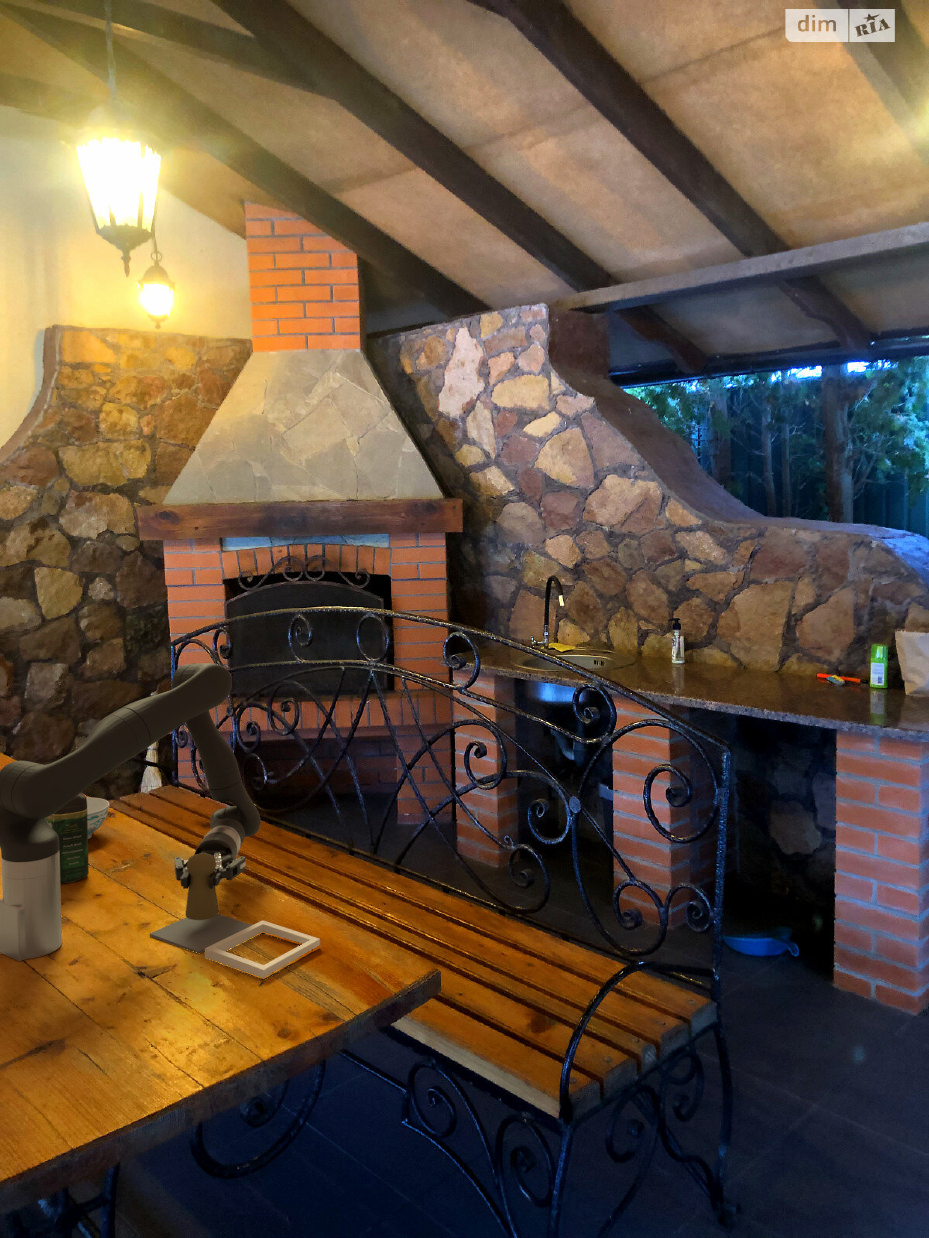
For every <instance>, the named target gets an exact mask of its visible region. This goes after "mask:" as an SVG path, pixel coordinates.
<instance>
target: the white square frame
mask: <svg viewBox="0 0 929 1238" xmlns="http://www.w3.org/2000/svg"><path fill="white" fill-rule="evenodd" d="M251 925H252V926H250V927H248V928H246V929H244V930H242V931H240V932H238V933H236V934H234V935H231V936H229V937H227V938H225V939H223V940H221V941H219V942H217V943H215V944H213V945H211V946H209V947H207V948H205V952H204V959H205V958H208V959H210V960H213V961H217V962H219V963H222V964H223V965H222V966H224V965H228V966H230V967H232V968H236V969H239V970H241V971H243V972H248V973H250V974H253V975H256V976H259V977H261V978H265V977H266V976H268V975H270V974H271V973H272V972H274V971H276V970H278V969H279V968H281V967H283V966H284V965H287V964H288V963H289V962H291V961H293V960H295V959H297V958H299V957H300V956H301V955H304V954H305V953H307V952H308V951H311V950H312V949H314V948H316V947H317V946H319V945H320V946H321V938H319V937H315V936H313V935H309V934H306V933H303V932H300V931H296V930H294V929H291V928H287V927H284V926H282V925H278V924H275V923H272V922H268V921H266V920H260V921H259V922H257V923H255V924H251ZM261 932H265V933H268V934H273V935H277V936H279V937H281V938H286V939H289V940H292V941H296V942H299V943H302V945H300V946H299V945H297V946H296V947H295V948H293V949H291V950H289V951H286V952H285V953H283V954H281V955H279V956H278V957H276V958H274V959H273V960H270V961H269V962H267V963H266V964H261V963H259V962H256V961H253V960H250V959H248V958H245V957H243V956H242V957H241V956H239V955H236V954H234V953H230V952H228V951H227V950H229V949H230V948H233V949H234V947H235V946H236V945H238V944H241V943H243V942H244V941H247V940H248V939H250V938H252V937H254V936H256V935H257V934H260V933H261ZM247 942H248V941H247ZM243 944H244V943H243ZM241 945H242V944H241ZM235 948H236V947H235ZM226 951H227V952H226ZM229 951H230V950H229ZM208 959H207V960H208ZM210 960H209V961H210ZM213 961H212V962H213ZM232 968H231V969H232ZM243 972H242V973H243Z"/></svg>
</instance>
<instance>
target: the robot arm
mask: <svg viewBox="0 0 929 1238" xmlns="http://www.w3.org/2000/svg"><path fill="white" fill-rule="evenodd" d="M232 686H233V678H232V674H231V673H230V671H228V669H227V668H226V667H224V666H222V665H220V664H217V663H211V662H204V663H187V664H183V665H180V666H179V667H178V668H177V669H176V670H175V671H174V674H173V676H172V680H171V689H170V690H168V691H165V692H162V693H161V692H160V693H159V694H155V695H151V696H148V697H145V698H142V699H139V700H136V701H134V702H130V703H129V704H127V705H124V706H122V707H121V708H119V709H117V710H115V711H113V712H112V713H110V714H109V715H106V716H104V718H103V719H101V720H99V722H97V723H96V724H95V725H94V726H93V728H92V729H91V730H90V732H89V733H88V735H87V736H86V738H85V740H84V742H83V743H82V744H81V746H79V747H78V748H77V749H75V750H74V751H72V752H70V753H69V754H67V755H65V756H64V757H62V758H59V759H57V760H55V761H53V762H50V763H48V764H41V763H37V762H34V761H33V762H32V761H29V760H28V761H27V760H15V761H11V762H9V763H7V764H6V765H4V766H3V767H2V768H1V769H0V854H1V855H0V857H1V858H0V859H1V883H2V884H1V885H2V886H1V889H2V890H1V891H2V898H0V954H2V955H4V956H7V957H9V958H11V959H13V960H16V961H18V962H21V961H24V960H27V959H34V958H35V959H36V958H39V957H43V956H46V955H48V954H51V953H53V952H54V951H57V950H58V949H59V948H61V946H62V944H63V936H62V935H63V930H62V929H63V928H62V902H61V901H62V898H61V894H62V893H61V882H60V854H59V837H58V835H57V833H56V832H55V831H54V830H53V829H52V828H51V827H50V826H49V824H48V823H47V821H46V819H45V818H46V817H48V816H50V815H52V814H54V813H56V812H57V811H58V810H60V809H61V808H63V807H64V806H65V805H66V804H68V803H69V802H70V801H71V800H72V799H74V798H75V797H76V796H77V795H79V794H80V793H83V792H84V791H85V790H86V789H87V788H89V787H90V786H92V784H94V783H95V782H97V781H98V780H100V779H101V778H103V777H104V776H106V775H108V774H109V773H111V772H112V771H114V770H115V769H117V768H118V767H120V766H121V765H122V764H124V763H125V762H127V761H129V760H131V759H132V758H134V757H136V756H137V755H138V754H140V753H142V752H143V751H145V750H146V749H148V748H149V747H152V745H154V744H155V743H156V742H158V741H159V740H161V739H163V738H164V737H166V736H167V735H169V734H171V732H173V731H175V730H176V729H177V728H179V727H181V726H182V725H183V724H186V727H187V729H188V732H189V734H190V736H191V738H192V740H193V743H194V745H195V747H196V750H197V752H198V756H199V758H200V761H201V765H202V768H203V771H204V776H205V779H206V783H207V787H208V790H209V793H210V796H211V798H212V800H214V801H216V802H227V803H228V802H230V803H232V804H234V805H233V806H228V807H223V808H219V809H217V810H215V811H214V812H213V813H212V814H211V815H210V820H209V825H210V830H209V831H208V832H207V833H206V834H205V835H204V837H203V839H201V842H200V843H199V844H198V846H197V847H196V849H195V851H194V854H193V855H196V854H201V853H207V854H211V855H213V856H214V858H215V860H216V868H215V870H214V872H213V873H212V874H211V875H210V877H209V889H214V887H215V888H216V887H217V886H219V885H220V882H222V881H223V879H226V881H233V880H235V878H236V877H238V876H239V875H241V874H242V873H243V872H244V871H246V856H239V852H240V848H241V847H242V845H243V842H244V840H245V838H247V837H248V838H249V837H252V836H255V835H256V834H258V832H259V830H260V828H261V823H262V822H261V815H260V813H259V810H258V808H257V806H256V805H255V804H254V802H253V800H252V799H251V797H250V795H249V794H248V792H247V790H246V788H245V786H244V783H243V780H242V777H241V772H240V768H239V763H238V761H237V758H236V756H235V754H234V751H233V749H232V748H231V747H230V745H229V744H228V742H227V741H226V739H225V738H224V737H223V735H222V734H221V732H220V731H219V729H218V727H217V725H216V724H215V722H214V720H213V718H212V716H211V712H210V710H212V709H214V708H216V707H218V706H220V705H222V703H223V702H224V701H226V699H227V698H228V697H229V695H230V693H231V691H232ZM238 856H239V857H238ZM173 860H174V872H175V873H174V875H175V879H176V881H179V882H180V887H182V889H183V890H188V888H189V884H190V874H189V873H188V870H187V861H188V859H184V858H182V857H181V856H175V857H174V859H173Z"/></svg>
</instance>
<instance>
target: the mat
mask: <svg viewBox="0 0 929 1238" xmlns="http://www.w3.org/2000/svg"><path fill="white" fill-rule="evenodd" d="M252 925H253V924H250V923H246V922H243V921H242V920H238V919H234V918H232V917H229V916H226V915H223V914H220V913H218V915H216V916H215V917H213V918H210V919H206V920H192V919H189V918H187V917H186V916H185V917H184V918H182V919H179V920H177V921H175V922H172V923H171V924H168V925H166V926H164V927H161V928H159V929H157V930H155V931H151V932H150V933H149V937H151V938H153V939H157V940H159V941H162V942H165V943H167V944H170V945H172V944H173V946H175V945H176V946H175V947H177V948H180V947H181V949H183V948H185V949H184V950H186V949H188V950H187V951H189V950H190V951H189V952H191V951H194V952H197V953H201V952H203V951H205V948H207V947H209V946H211V945H213V944H215V943H217V942H219V941H221V940H223V939H225V938H227V937H229V936H231V935H234V934H236V933H238V932H240V931H242V930H244V929H246V928H248V927H250V926H252ZM194 952H193V953H194ZM197 953H196V954H197ZM203 953H204V952H203ZM201 954H202V953H201Z"/></svg>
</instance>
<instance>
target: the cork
mask: <svg viewBox="0 0 929 1238" xmlns="http://www.w3.org/2000/svg"><path fill="white" fill-rule="evenodd" d="M187 860H188V861H187V870H188V873H189V874H190V884H189V887H188V889H187V897H186V898H187V899H186V905H185V906H186V907H185V918H186V917H187V918H189V919H192V920H206V919H210V918H213V917H215V916H216V915H218V914H220V908H219V901H218V896H217V888H216V886H215V887H214V889H209V877H210V875H211V874H212V873H213V872H214V870H215V868H216V860H215V858H214V856H213V855H211V854H207V853H201V854H196V855H194V854H193V855H191V856H190V857H189V858H188V859H187Z"/></svg>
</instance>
